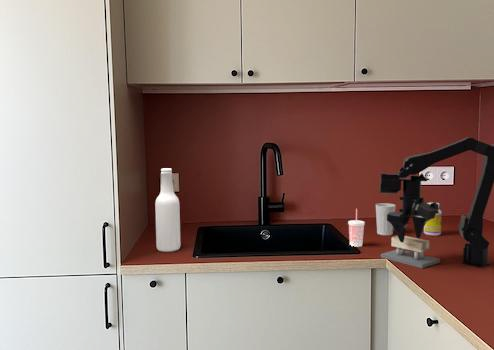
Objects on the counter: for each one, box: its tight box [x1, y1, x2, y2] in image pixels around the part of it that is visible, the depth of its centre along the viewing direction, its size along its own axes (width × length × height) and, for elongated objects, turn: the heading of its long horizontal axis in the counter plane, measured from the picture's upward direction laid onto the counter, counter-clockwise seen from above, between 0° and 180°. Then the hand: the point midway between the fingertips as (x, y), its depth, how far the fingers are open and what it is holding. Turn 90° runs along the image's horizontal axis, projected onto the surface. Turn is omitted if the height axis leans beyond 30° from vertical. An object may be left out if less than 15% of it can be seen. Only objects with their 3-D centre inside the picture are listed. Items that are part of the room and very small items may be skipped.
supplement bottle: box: [423, 202, 443, 237], centre depth 200 cm, size 7×7×13 cm
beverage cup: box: [347, 208, 366, 248], centre depth 184 cm, size 6×6×14 cm
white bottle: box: [154, 167, 181, 253], centre depth 180 cm, size 9×9×30 cm
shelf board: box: [390, 235, 430, 253], centre depth 164 cm, size 5×11×3 cm, turn 41°
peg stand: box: [380, 247, 440, 269], centre depth 165 cm, size 16×10×4 cm, turn 37°
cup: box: [375, 202, 397, 236], centre depth 202 cm, size 8×8×12 cm
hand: (410, 239), depth 164 cm, fingers open, 9 cm apart
